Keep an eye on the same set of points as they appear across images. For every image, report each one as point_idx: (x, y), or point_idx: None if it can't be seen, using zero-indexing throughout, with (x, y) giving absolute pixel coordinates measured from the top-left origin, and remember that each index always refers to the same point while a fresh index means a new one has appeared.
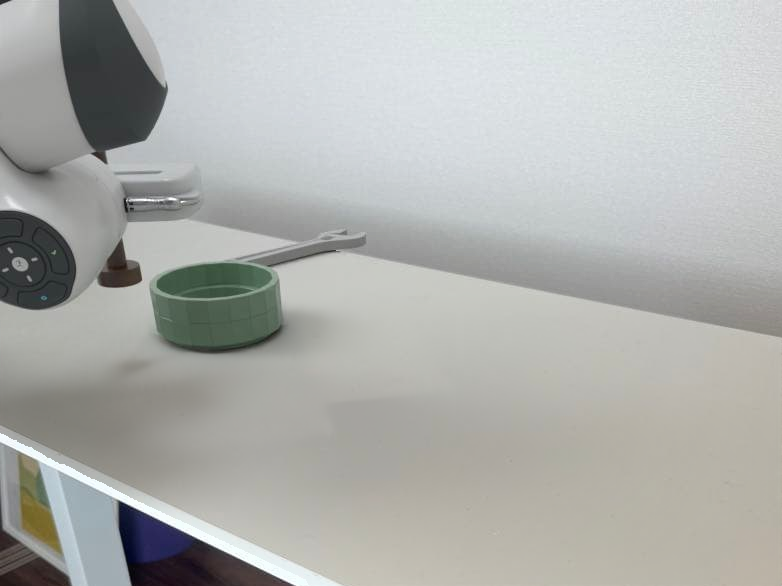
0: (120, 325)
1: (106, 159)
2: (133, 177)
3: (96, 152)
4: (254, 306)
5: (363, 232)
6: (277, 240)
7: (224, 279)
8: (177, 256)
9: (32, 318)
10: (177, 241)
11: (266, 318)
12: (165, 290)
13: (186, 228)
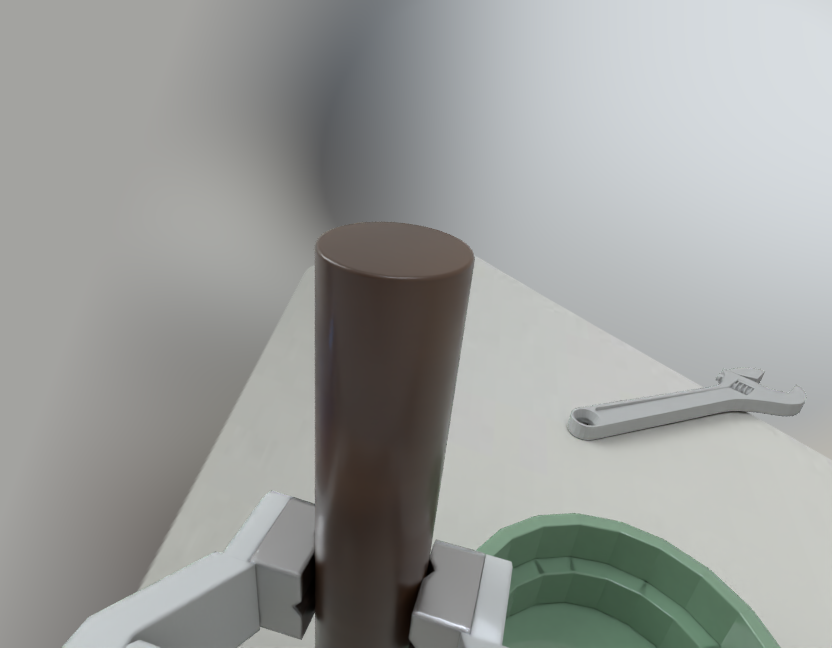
0: None
1: (427, 552)
2: None
3: (379, 547)
4: None
5: (799, 388)
6: (644, 354)
7: (612, 559)
8: (500, 356)
9: (234, 488)
10: (502, 319)
11: None
12: None
13: (515, 294)
